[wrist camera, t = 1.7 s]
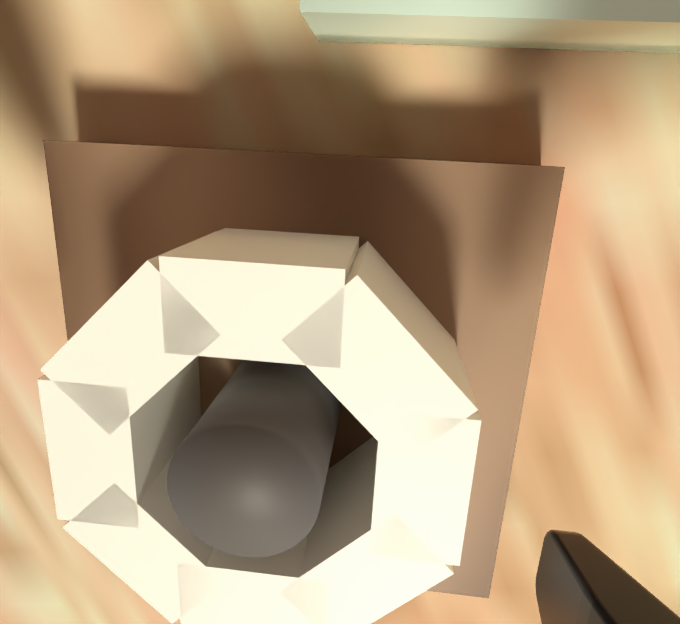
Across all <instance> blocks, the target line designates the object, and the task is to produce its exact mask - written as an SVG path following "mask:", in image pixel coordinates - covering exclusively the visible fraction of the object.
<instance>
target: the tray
mask: <svg viewBox="0 0 680 624" xmlns="http://www.w3.org/2000/svg"><path fill="white" fill-rule="evenodd" d="M300 13H301V15H302V16H303V18H304V19H305V21H306V22H307V24H308V25H309V27H310V28H311V30H312V32H313V33H314V35H315V36H316V38H317V39H318V41H324V42H354V43H384V44H414V45H444V46H474V47H504V48H534V49H564V50H594V51H624V52H655V53H680V0H300Z"/></svg>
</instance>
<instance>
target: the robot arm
mask: <svg viewBox="0 0 680 624" xmlns="http://www.w3.org/2000/svg"><path fill="white" fill-rule="evenodd" d="M536 596H537V602H538V607H539V612H540V617H541V622H542V624H680V617H679V616H677V615H676V614H675V613H674V612H673V611H672V610H670V609H669V608H668V607H667V606H666V605H664V604H663V603H662V602H661V601H660V600H659V599H657V598H656V597H655V596H654V595H653V594H651V593H650V592H649V591H648V590H647V589H646V588H644V587H643V586H642V585H641V584H640V583H638V582H637V581H636V580H635V579H634V578H633V577H631V576H630V575H629V574H628V573H627V572H626V571H624V570H623V569H622V568H621V567H620V566H618V565H617V564H616V563H615V562H614V561H613V560H611V559H610V558H609V557H608V556H607V555H605V554H604V553H603V552H602V551H601V550H600V549H598V548H597V547H596V546H595V545H594V544H592V543H591V542H590V541H589V540H588V539H587V538H585V537H584V536H583V535H581V534H579V533H576V532H569V531H559V530H550V531H549V532H547V534H546V536H545V538H544V542H543V547H542V551H541V556H540V561H539V566H538V571H537V575H536Z"/></svg>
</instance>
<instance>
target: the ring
mask: <svg viewBox="0 0 680 624" xmlns="http://www.w3.org/2000/svg"><path fill="white" fill-rule="evenodd" d="M358 248H359V237H357V236H341V235H326V234H310V233H295V232H280V231H264V230H249V229H233V228H224V229H221V230H219V231H215V232H213V233H211V234H208V235H206V236H204V237H201V238H199V239H196V240H194V241H192V242H189V243H187V244H185V245H182V246H180V247H177V248H175V249H173V250H170V251H168V252H166V253H163V254H161V255H158V256H156V257H154V258H151V259H149V260H147V261H146V262H145V263H144V264H143V265H142V266H141V267H140V268H139V269H138V270H137V271H136V272H135V273H134V274H133V275H132V276H131V277H130V279H129V280H128V281H127V282H126V283H125V284H124V285H123V286H122V287H121V288H120V289H119V290H118V291H117V292H116V293H115V294H114V295H113V296H112V297H111V298H110V299H109V300H108V301H107V302H106V303H105V304H104V305H103V306H102V307H101V308H100V309H99V310H98V311H97V312H96V313H95V314H94V315H93V316H92V317H91V318H90V319H89V320H88V321H87V322H86V323H85V324H84V325H83V326H82V328H81V329H80V330H79V331H78V332H77V333H76V334H75V335H74V336H73V337H72V338H71V339H70V340H69V341H68V342H67V343H66V344H65V345H64V346H63V347H62V348H61V349H60V350H59V351H58V352H57V353H56V354H55V355H54V356H53V357H52V358H51V359H50V360H49V361H48V362H47V363H46V364H45V365H44V366H43V367H42V368H41V369H40V371H42V372H43V373H44V374H45V375H43V376H42V377H40V378H39V379H37V382H38V389H39V395H40V402H41V409H42V416H43V423H44V430H45V437H46V444H47V451H48V458H49V465H50V472H51V479H52V485H53V492H54V499H55V506H56V513H57V519H61V520H69V521H68V522H67V523H66V524H65V525H64V526H63V527H62V528H63V529H64V530H66V531H67V532H68V533H69V534H70V535H71V536H72V537H74V538H75V539H76V540H77V541H78V542H79V543H80V544H82V545H83V546H84V547H85V548H86V549H87V550H88V551H90V552H91V553H92V554H93V555H94V556H95V557H96V558H98V559H99V560H100V561H101V562H102V563H103V564H104V565H105V566H107V567H108V568H109V569H110V570H111V571H112V572H113V573H115V574H116V575H117V576H118V577H119V578H120V579H121V580H123V581H124V582H125V583H126V584H127V585H128V586H129V587H131V588H132V589H133V590H134V591H135V592H136V593H137V594H139V595H140V596H141V597H142V598H143V599H144V600H145V601H146V602H148V603H149V604H150V605H151V606H152V607H153V608H154V609H156V610H157V611H158V612H159V613H160V614H161V615H162V616H164V617H165V618H166V619H167V620H168V621H169V622H170V623H174V622H175V621H177V620H178V619H180V620H181V624H371V623H373V622H374V621H376V620H378V619H379V618H381V617H383V616H384V615H386V614H388V613H389V612H391V611H393V610H394V609H396V608H398V607H399V606H401V605H403V604H404V603H406V602H408V601H409V600H411V599H413V598H414V597H416V596H418V595H419V594H421V593H423V592H424V591H426V590H428V589H429V588H431V587H433V586H434V585H436V584H438V583H439V582H441V581H443V580H444V579H446V578H448V577H449V576H451V575H453V574H454V570H453V565H456V566H460V560H461V554H462V547H463V540H464V534H465V527H466V520H467V514H468V507H469V500H470V494H471V487H472V480H473V474H474V467H475V461H476V454H477V447H478V441H479V434H480V427H481V418H480V415H479V412H478V408H477V405H476V402H475V399H474V396H473V393H472V390H471V387H470V384H469V381H468V378H467V375H466V372H465V369H464V366H463V363H462V360H461V357H460V354H459V351H458V348H457V345H456V342H455V340H454V338H453V337H452V336H451V335H450V334H449V333H448V332H447V330H446V329H445V328H444V327H443V326H442V325H441V324H440V323H439V321H438V320H437V319H436V318H435V317H434V316H433V315H432V313H431V312H430V311H429V310H428V309H427V308H426V307H425V305H424V304H423V303H422V302H421V301H420V300H419V299H418V297H417V296H416V295H415V294H414V293H413V292H412V291H411V290H410V288H409V287H408V286H407V285H406V284H405V283H404V282H403V280H402V279H401V278H400V277H399V276H398V275H397V274H396V272H395V271H394V270H393V269H392V268H391V267H390V266H389V265H388V263H387V262H386V261H385V260H384V259H383V258H382V257H381V255H380V254H379V253H378V252H377V251H376V250H375V249H374V247H373V246H372V245H371V244H370V243H369V242H368V241H367V242H366V243H365V244H363V245H362V246H361V247H360V248H359V249H358ZM199 356H206V357H218V358H229V359H241V360H252V361H264V362H275V363H287V364H299V365H306V366H307V367H308V368H309V369H310V370H311V371H312V373H313V374H314V375H315V376H316V377H317V378H318V379H319V380H320V381H321V382H322V383H323V384H324V385H325V386H326V387H327V388H328V389H329V390H330V391H331V392H332V393H333V395H334V396H335V397H336V398H337V399H338V400H339V401H340V402H341V403H342V404H343V405H344V406H345V407H346V408H347V409H348V410H349V411H350V412H351V413H352V414H353V416H354V417H355V418H356V419H357V420H358V421H359V422H360V423H361V424H362V425H363V426H364V427H365V428H366V429H367V430H368V431H369V432H370V433H371V434H372V435H373V437H372V438H370V439H369V440H368V441H366V442H365V443H364V444H362V445H361V446H359V447H358V448H357V449H355V450H354V451H353V452H351V453H350V454H349V455H347V456H346V457H344V458H343V459H342V460H340V461H339V462H338V463H336V464H335V465H334V466H332V467H331V468H329V469H328V472H327V476H326V481H325V486H324V491H323V496H322V500H321V505H320V510H319V514H318V517H317V520H316V522H315V524H314V526H313V528H312V529H311V531H310V532H309V534H308V535H307V536H306V537H305V538H304V539H303V540H302V541H301V542H299V543H298V544H297V545H296V546H294V547H292V548H290V549H289V550H287V551H284V552H282V553H279V554H276V555H272V556H266V557H241V556H235V555H231V554H228V553H224V552H222V551H219V550H217V549H215V548H213V547H211V546H209V545H207V544H205V543H204V542H202V541H201V540H199V539H198V538H197V537H196V536H194V535H193V534H192V533H191V532H190V531H189V530H188V529H187V528H186V527H185V526H184V525H183V523H182V522H181V521H180V519H179V518H178V516H177V515H176V513H175V511H174V509H173V507H172V505H171V502H170V499H169V495H168V489H167V475H168V469H169V466H170V463H171V460H172V458H173V456H174V454H175V452H176V451H177V450H178V448H179V447H180V446H181V444H182V443H183V442H184V440H185V439H186V437H187V436H188V435H189V433H190V432H191V431H192V429H193V428H194V427H195V425H196V424H197V423H198V421H199V420H200V418H201V406H200V380H199Z"/></svg>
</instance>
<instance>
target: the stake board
mask: <svg viewBox="0 0 680 624" xmlns="http://www.w3.org/2000/svg"><path fill="white" fill-rule="evenodd" d="M43 141H44V149H45V157H46V165H47V174H48V182H49V190H50V198H51V207H52V215H53V223H54V231H55V240H56V248H57V256H58V264H59V272H60V281H61V289H62V297H63V305H64V314H65V322H66V330H67V338H68V341H69V340H70V339H71V338H72V337H73V336H74V335H75V334H76V333H77V332H78V331H79V330H80V329H81V328H82V326H83V325H84V324H85V323H86V322H87V321H88V320H89V319H90V318H91V317H92V316H93V315H94V314H95V313H96V312H97V311H98V310H99V309H100V308H101V307H102V306H103V305H104V304H105V303H106V302H107V301H108V300H109V299H110V298H111V297H112V296H113V295H114V294H115V293H116V292H117V291H118V290H119V289H120V288H121V287H122V286H123V285H124V284H125V283H126V282H127V281H128V280H129V279H130V277H131V276H132V275H133V274H134V273H135V272H136V271H137V270H138V269H139V268H140V267H141V266H142V265H143V264H144V263H145V262H146V261H147V260H149V259H151V258H154V257H156V256H158V255H161V254H163V253H166V252H168V251H170V250H173V249H175V248H177V247H180V246H182V245H185V244H187V243H189V242H192V241H194V240H196V239H199V238H201V237H204V236H206V235H208V234H211V233H213V232H215V231H219V230H221V229H224V228H233V229H249V230H264V231H280V232H295V233H310V234H326V235H341V236H357V237H359V248H360V247H361V246H362V245H363V244H365V243H366V242H367V241H368V242H369V243H370V244H371V245H372V246H373V247H374V249H375V250H376V251H377V252H378V253H379V254H380V255H381V257H382V258H383V259H384V260H385V261H386V262H387V263H388V265H389V266H390V267H391V268H392V269H393V270H394V271H395V272H396V274H397V275H398V276H399V277H400V278H401V279H402V280H403V282H404V283H405V284H406V285H407V286H408V287H409V288H410V290H411V291H412V292H413V293H414V294H415V295H416V296H417V297H418V299H419V300H420V301H421V302H422V303H423V304H424V305H425V307H426V308H427V309H428V310H429V311H430V312H431V313H432V315H433V316H434V317H435V318H436V319H437V320H438V321H439V323H440V324H441V325H442V326H443V327H444V328H445V329H446V330H447V332H448V333H449V334H450V335H451V336H452V337H453V338H454V340H455V342H456V345H457V348H458V351H459V354H460V357H461V360H462V363H463V366H464V369H465V372H466V375H467V378H468V381H469V384H470V387H471V390H472V393H473V396H474V399H475V402H476V405H477V408H478V412H479V415H480V418H481V427H480V434H479V441H478V447H477V454H476V461H475V467H474V474H473V480H472V487H471V494H470V500H469V507H468V514H467V520H466V527H465V534H464V540H463V547H462V554H461V560H460V566H456V565H453V570H454V574H453V575H451V576H449V577H448V578H446V579H444V580H443V581H441V582H439V583H438V584H436V585H434V586H433V587H431V588H429V589H428V590H426V591H434V592H442V593H450V594H459V595H467V596H475V597H483V598H489V594H490V588H491V582H492V577H493V571H494V565H495V560H496V554H497V548H498V543H499V537H500V531H501V526H502V520H503V514H504V509H505V503H506V497H507V492H508V486H509V480H510V475H511V469H512V463H513V458H514V452H515V446H516V441H517V435H518V429H519V424H520V418H521V412H522V407H523V401H524V395H525V390H526V384H527V378H528V373H529V367H530V361H531V356H532V350H533V344H534V339H535V333H536V327H537V322H538V316H539V310H540V305H541V299H542V293H543V288H544V282H545V276H546V271H547V265H548V259H549V254H550V248H551V242H552V237H553V231H554V225H555V220H556V214H557V208H558V203H559V197H560V191H561V186H562V180H563V174H564V169H565V167H554V166H537V165H518V164H498V163H479V162H460V161H440V160H421V159H402V158H382V157H363V156H344V155H324V154H305V153H286V152H266V151H247V150H228V149H208V148H189V147H170V146H150V145H131V144H112V143H92V142H72V141H51V140H43ZM359 248H358V249H359ZM199 380H200V406H201V418H200V420H199V421H198V423H197V424H196V425H195V427H194V428H193V429H192V431H191V432H190V433H189V435H188V436H187V437H186V439H185V440H184V442H183V443H182V444H181V446H180V447H179V448H178V450H177V451H176V452H175V454H174V456H173V458H172V460H171V463H170V466H169V469H168V475H167V489H168V495H169V499H170V502H171V505H172V507H173V509H174V511H175V513H176V515H177V516H178V518H179V519H180V521H181V522H182V523H183V525H184V526H185V527H186V528H187V529H188V530H189V531H190V532H191V533H192V534H193V535H194V536H196V537H197V538H198V539H199V540H201V541H202V542H204V543H205V544H207V545H209V546H211V547H213V548H215V549H217V550H219V551H222V552H224V553H228V554H231V555H235V556H241V557H266V556H272V555H276V554H279V553H282V552H284V551H287V550H289V549H290V548H292V547H294V546H296V545H297V544H298V543H299V542H301V541H302V540H303V539H304V538H305V537H306V536H307V535H308V534H309V532H310V531H311V529H312V528H313V526H314V524H315V522H316V520H317V517H318V514H319V510H320V505H321V500H322V496H323V491H324V486H325V481H326V476H327V472H328V469H329V468H331V467H332V466H334V465H335V464H336V463H338V462H339V461H340V460H342V459H343V458H344V457H346V456H347V455H349V454H350V453H351V452H353V451H354V450H355V449H357V448H358V447H359V446H361V445H362V444H364V443H365V442H366V441H368V440H369V439H370V438H372V437H373V435H372V434H371V433H370V432H369V431H368V430H367V429H366V428H365V427H364V426H363V425H362V424H361V423H360V422H359V421H358V420H357V419H356V418H355V417H354V416H353V414H352V413H351V412H350V411H349V410H348V409H347V408H346V407H345V406H344V405H343V404H342V403H341V402H340V401H339V400H338V399H337V398H336V397H335V396H334V395H333V393H332V392H331V391H330V390H329V389H328V388H327V387H326V386H325V385H324V384H323V383H322V382H321V381H320V380H319V379H318V378H317V377H316V376H315V375H314V374H313V373H312V371H311V370H310V369H309V368H308V367H307V366H306V365H299V364H287V363H275V362H264V361H252V360H241V359H229V358H218V357H206V356H199Z"/></svg>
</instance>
